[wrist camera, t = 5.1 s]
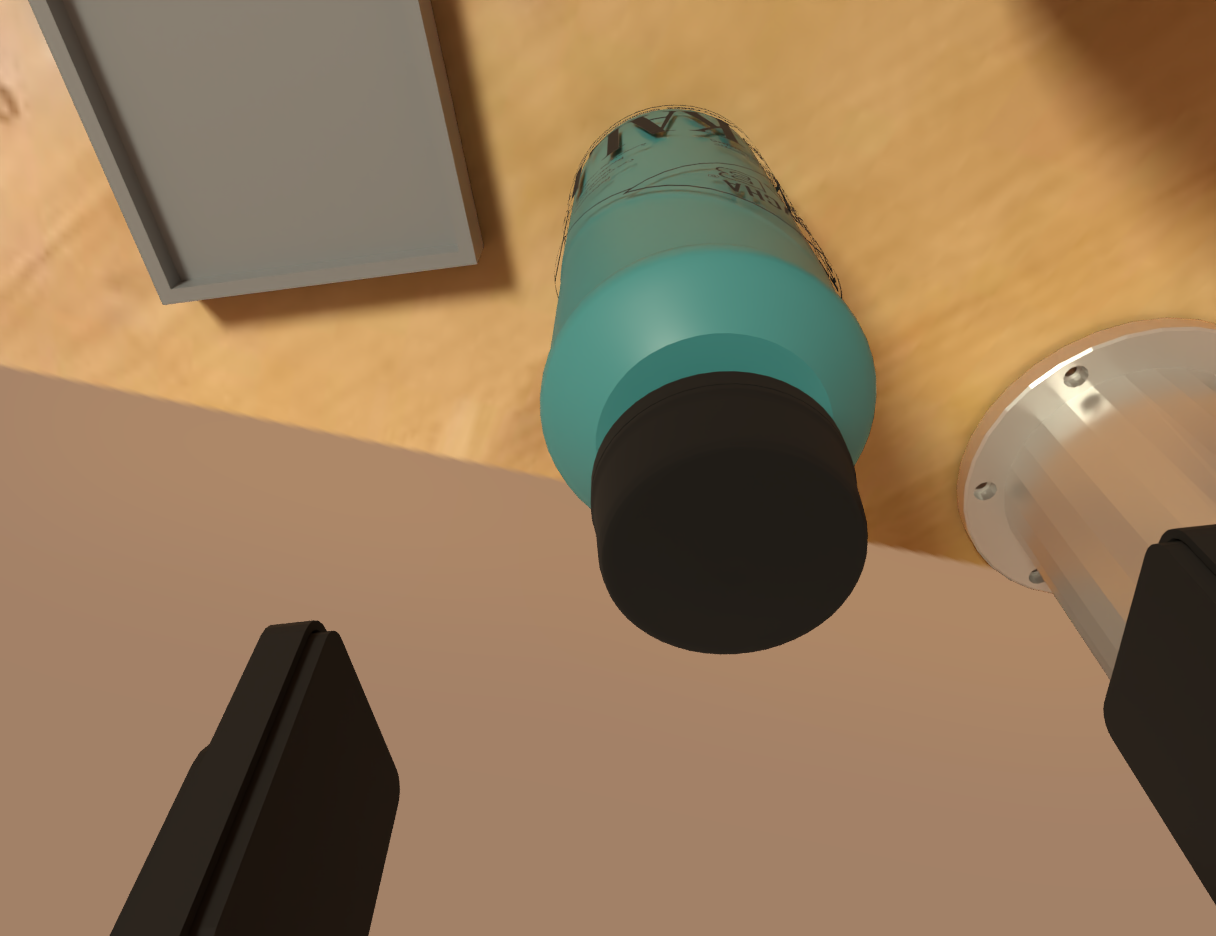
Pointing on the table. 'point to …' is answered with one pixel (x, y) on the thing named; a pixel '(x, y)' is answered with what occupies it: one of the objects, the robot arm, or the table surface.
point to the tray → (270, 138)
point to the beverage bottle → (706, 391)
